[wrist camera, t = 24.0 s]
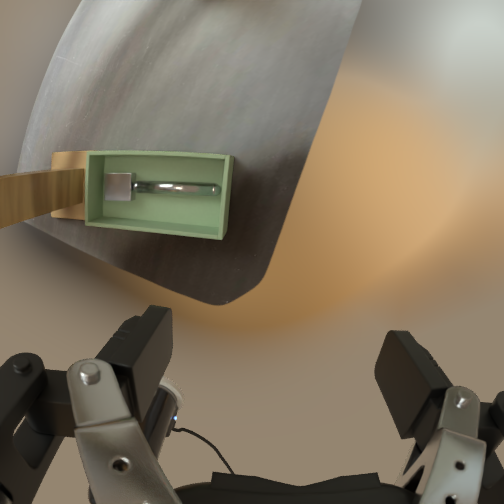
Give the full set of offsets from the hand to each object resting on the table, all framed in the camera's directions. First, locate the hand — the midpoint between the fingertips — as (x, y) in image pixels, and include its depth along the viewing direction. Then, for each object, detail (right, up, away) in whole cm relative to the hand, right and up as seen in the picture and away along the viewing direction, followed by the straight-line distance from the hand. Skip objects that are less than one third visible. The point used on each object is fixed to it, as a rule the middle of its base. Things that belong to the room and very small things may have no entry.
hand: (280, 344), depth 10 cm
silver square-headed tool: (-15, +13, +34) cm, 39 cm away
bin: (-15, +13, +35) cm, 40 cm away
